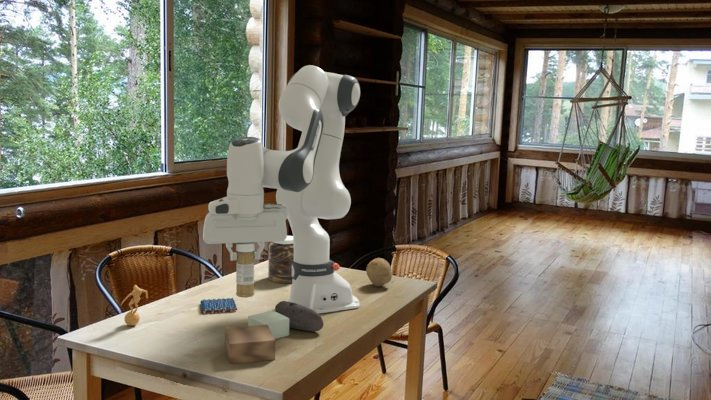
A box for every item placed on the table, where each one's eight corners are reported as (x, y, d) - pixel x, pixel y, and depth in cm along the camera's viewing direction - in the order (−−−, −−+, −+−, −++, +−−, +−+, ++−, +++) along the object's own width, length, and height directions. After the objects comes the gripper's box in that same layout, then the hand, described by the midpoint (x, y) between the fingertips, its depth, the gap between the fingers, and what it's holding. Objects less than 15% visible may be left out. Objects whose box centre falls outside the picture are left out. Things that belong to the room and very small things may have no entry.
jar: (289, 272, 234) (290, 233, 232) (308, 280, 225) (309, 239, 223) (262, 277, 227) (262, 236, 224) (280, 285, 218) (280, 242, 216)
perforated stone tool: (327, 331, 176) (328, 307, 175) (317, 337, 171) (318, 312, 170) (283, 321, 183) (284, 298, 182) (272, 326, 179) (273, 302, 177)
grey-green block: (272, 327, 178) (273, 310, 177) (289, 335, 172) (289, 318, 171) (248, 333, 173) (248, 316, 172) (263, 342, 167) (264, 324, 166)
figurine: (140, 319, 180) (140, 279, 178) (153, 324, 177) (153, 283, 175) (114, 327, 174) (113, 285, 172) (127, 332, 170) (126, 289, 168)
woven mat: (238, 313, 189) (238, 307, 189) (201, 316, 186) (201, 309, 186) (234, 303, 199) (234, 296, 199) (200, 305, 196) (200, 298, 196)
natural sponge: (366, 281, 226) (366, 254, 224) (391, 282, 225) (392, 255, 224) (365, 289, 217) (366, 260, 215) (391, 290, 216) (392, 261, 215)
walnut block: (267, 343, 166) (267, 324, 165) (275, 359, 156) (275, 340, 155) (224, 346, 163) (224, 328, 162) (229, 363, 152) (229, 344, 152)
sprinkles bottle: (253, 292, 160) (254, 240, 158) (255, 297, 156) (255, 244, 154) (235, 293, 159) (235, 240, 157) (236, 298, 155) (236, 244, 153)
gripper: (285, 201, 160) (284, 254, 162) (202, 203, 154) (202, 258, 156) (290, 205, 154) (289, 260, 156) (203, 207, 148) (204, 265, 150)
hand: (245, 259), depth 156 cm, fingers closed on sprinkles bottle, 4 cm apart
